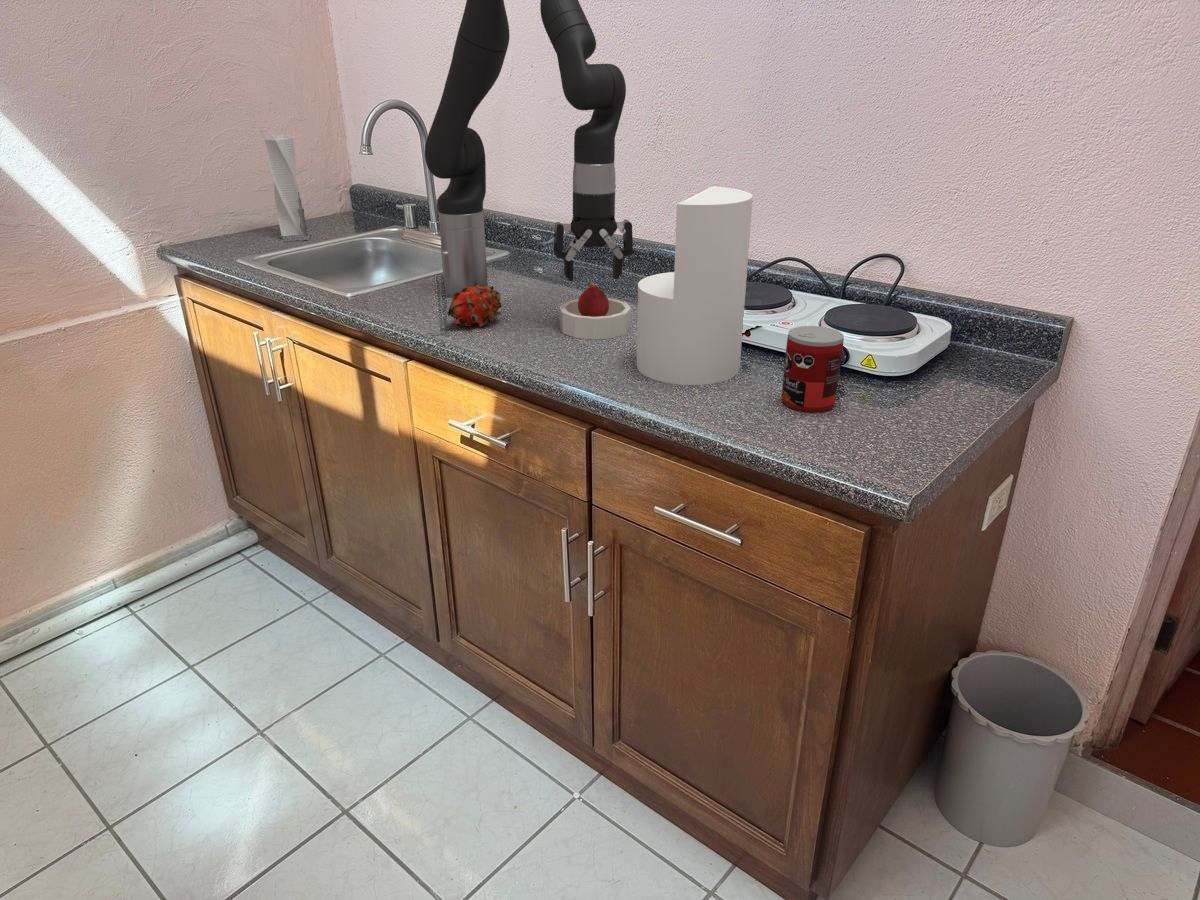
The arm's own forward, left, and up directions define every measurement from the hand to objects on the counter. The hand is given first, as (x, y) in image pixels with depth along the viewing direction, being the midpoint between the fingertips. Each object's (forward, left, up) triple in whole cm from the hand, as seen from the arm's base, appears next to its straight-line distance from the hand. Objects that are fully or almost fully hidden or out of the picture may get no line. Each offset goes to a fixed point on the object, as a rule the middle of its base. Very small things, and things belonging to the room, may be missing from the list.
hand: (593, 279), depth 155 cm
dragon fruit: (-22, +7, -10) cm, 25 cm away
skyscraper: (-64, +94, -10) cm, 114 cm away
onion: (0, 0, -9) cm, 9 cm away
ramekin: (0, 0, -10) cm, 10 cm away
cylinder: (+11, -23, -10) cm, 27 cm away
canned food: (+24, -42, -10) cm, 50 cm away
